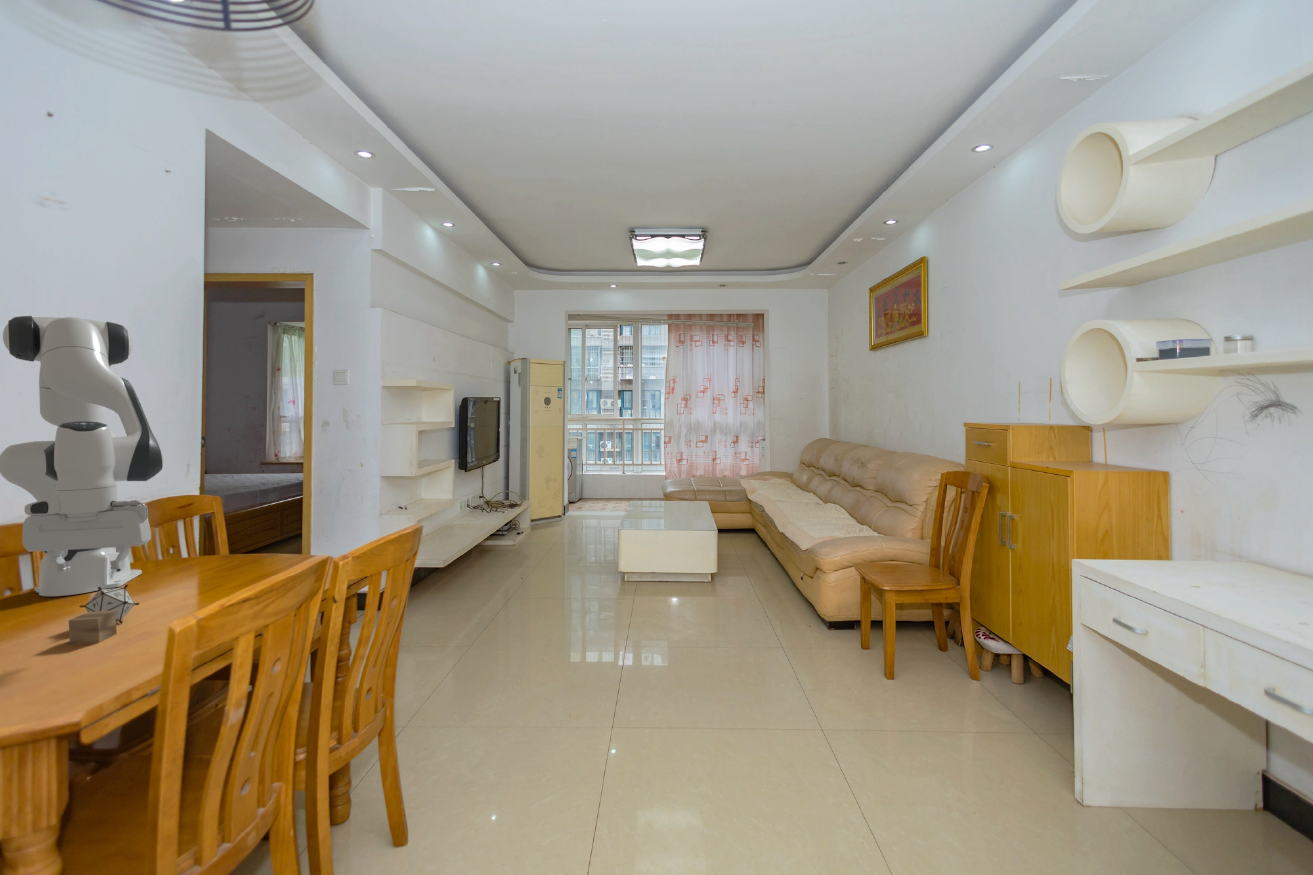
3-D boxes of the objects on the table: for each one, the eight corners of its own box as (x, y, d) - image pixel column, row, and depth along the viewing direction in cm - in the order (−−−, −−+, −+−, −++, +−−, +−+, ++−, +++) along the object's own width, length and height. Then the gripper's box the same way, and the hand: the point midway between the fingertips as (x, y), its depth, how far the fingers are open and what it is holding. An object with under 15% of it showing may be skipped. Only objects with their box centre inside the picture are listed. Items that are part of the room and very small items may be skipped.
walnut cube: (88, 635, 122) (87, 612, 122) (116, 633, 123) (115, 610, 123) (69, 645, 117) (68, 620, 117) (99, 643, 118) (98, 618, 118)
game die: (111, 642, 128) (93, 615, 122) (82, 625, 129) (62, 598, 123) (153, 611, 135) (138, 584, 129) (125, 595, 136) (108, 568, 130)
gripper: (156, 497, 124) (159, 563, 124) (40, 502, 120) (44, 569, 120) (136, 502, 118) (139, 570, 118) (13, 506, 114) (17, 577, 114)
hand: (90, 570), depth 119 cm, fingers open, 8 cm apart
